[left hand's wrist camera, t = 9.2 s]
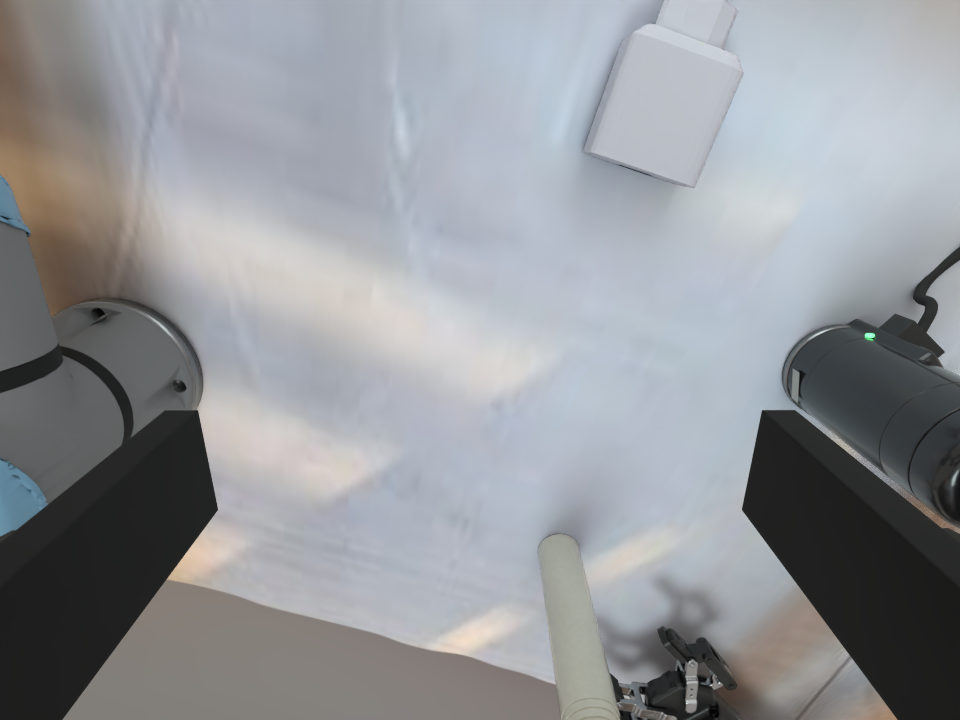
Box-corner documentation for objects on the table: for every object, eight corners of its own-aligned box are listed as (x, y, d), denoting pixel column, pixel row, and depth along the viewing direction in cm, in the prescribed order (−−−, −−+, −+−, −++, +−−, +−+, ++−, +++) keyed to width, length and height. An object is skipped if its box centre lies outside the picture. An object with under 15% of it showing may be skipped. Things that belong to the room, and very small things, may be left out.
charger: (757, -4, 43) (677, 186, 48) (650, -45, 42) (580, 152, 47) (789, -22, 39) (697, 189, 44) (669, -69, 38) (590, 152, 43)
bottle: (585, 559, 63) (646, 803, 39) (546, 572, 63) (584, 820, 40) (570, 528, 61) (625, 762, 38) (531, 542, 62) (561, 780, 38)
